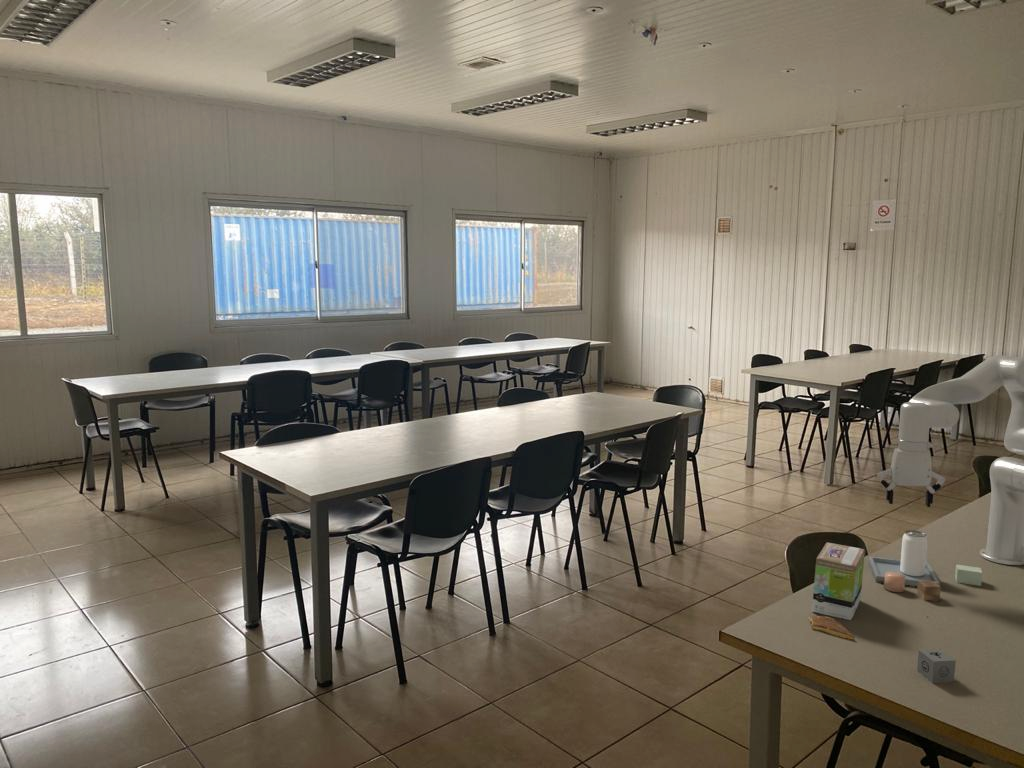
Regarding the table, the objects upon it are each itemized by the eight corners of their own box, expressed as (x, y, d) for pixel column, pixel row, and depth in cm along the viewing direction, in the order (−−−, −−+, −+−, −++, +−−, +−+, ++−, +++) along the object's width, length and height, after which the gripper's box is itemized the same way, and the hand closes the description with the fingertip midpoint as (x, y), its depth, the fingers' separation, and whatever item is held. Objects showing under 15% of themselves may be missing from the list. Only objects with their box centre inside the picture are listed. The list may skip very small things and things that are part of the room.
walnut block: (932, 595, 208) (933, 581, 207) (939, 601, 204) (940, 586, 203) (917, 594, 208) (918, 580, 208) (923, 600, 204) (925, 586, 204)
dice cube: (938, 670, 168) (940, 648, 167) (953, 682, 163) (955, 660, 162) (917, 671, 168) (918, 650, 167) (931, 683, 163) (933, 661, 162)
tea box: (852, 621, 191) (857, 565, 189) (810, 612, 197) (814, 557, 195) (861, 600, 204) (865, 547, 202) (821, 592, 209) (825, 540, 207)
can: (915, 568, 225) (918, 529, 223) (930, 576, 219) (933, 536, 217) (895, 569, 224) (898, 530, 223) (909, 577, 218) (912, 537, 216)
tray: (927, 568, 227) (928, 562, 226) (939, 589, 211) (939, 583, 211) (868, 562, 231) (869, 556, 231) (875, 581, 216) (876, 575, 216)
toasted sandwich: (854, 642, 181) (855, 635, 181) (822, 643, 181) (823, 636, 181) (833, 622, 192) (834, 615, 192) (803, 622, 192) (804, 616, 192)
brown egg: (889, 584, 215) (891, 570, 215) (907, 590, 211) (908, 576, 211) (880, 587, 212) (881, 573, 212) (898, 593, 208) (899, 579, 208)
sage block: (979, 581, 218) (980, 567, 217) (981, 586, 214) (982, 572, 214) (955, 577, 220) (956, 564, 220) (956, 582, 217) (957, 569, 216)
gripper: (944, 445, 217) (940, 503, 219) (877, 441, 222) (874, 498, 225) (950, 450, 210) (945, 510, 212) (881, 447, 215) (877, 505, 218)
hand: (908, 504), depth 219 cm, fingers open, 9 cm apart
